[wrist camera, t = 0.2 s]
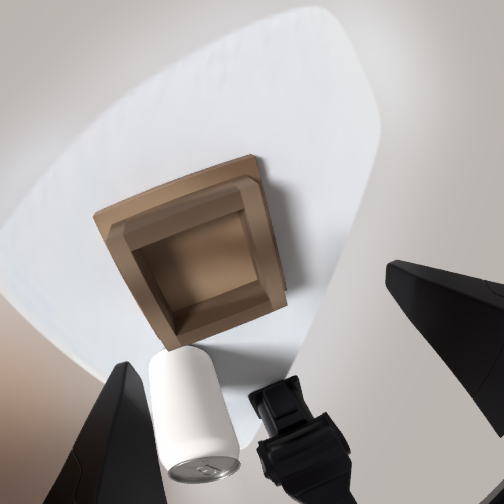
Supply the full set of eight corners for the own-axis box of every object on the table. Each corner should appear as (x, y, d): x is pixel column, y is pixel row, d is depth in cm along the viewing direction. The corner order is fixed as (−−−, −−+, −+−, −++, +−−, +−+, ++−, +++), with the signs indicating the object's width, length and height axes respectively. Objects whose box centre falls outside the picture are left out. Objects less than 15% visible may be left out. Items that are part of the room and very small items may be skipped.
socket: (282, 284, 27) (301, 309, 23) (158, 332, 25) (162, 364, 22) (250, 154, 21) (270, 162, 17) (95, 212, 19) (83, 233, 16)
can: (194, 332, 26) (227, 446, 16) (221, 371, 30) (256, 469, 19) (135, 357, 26) (145, 470, 15) (168, 392, 29) (188, 490, 19)
